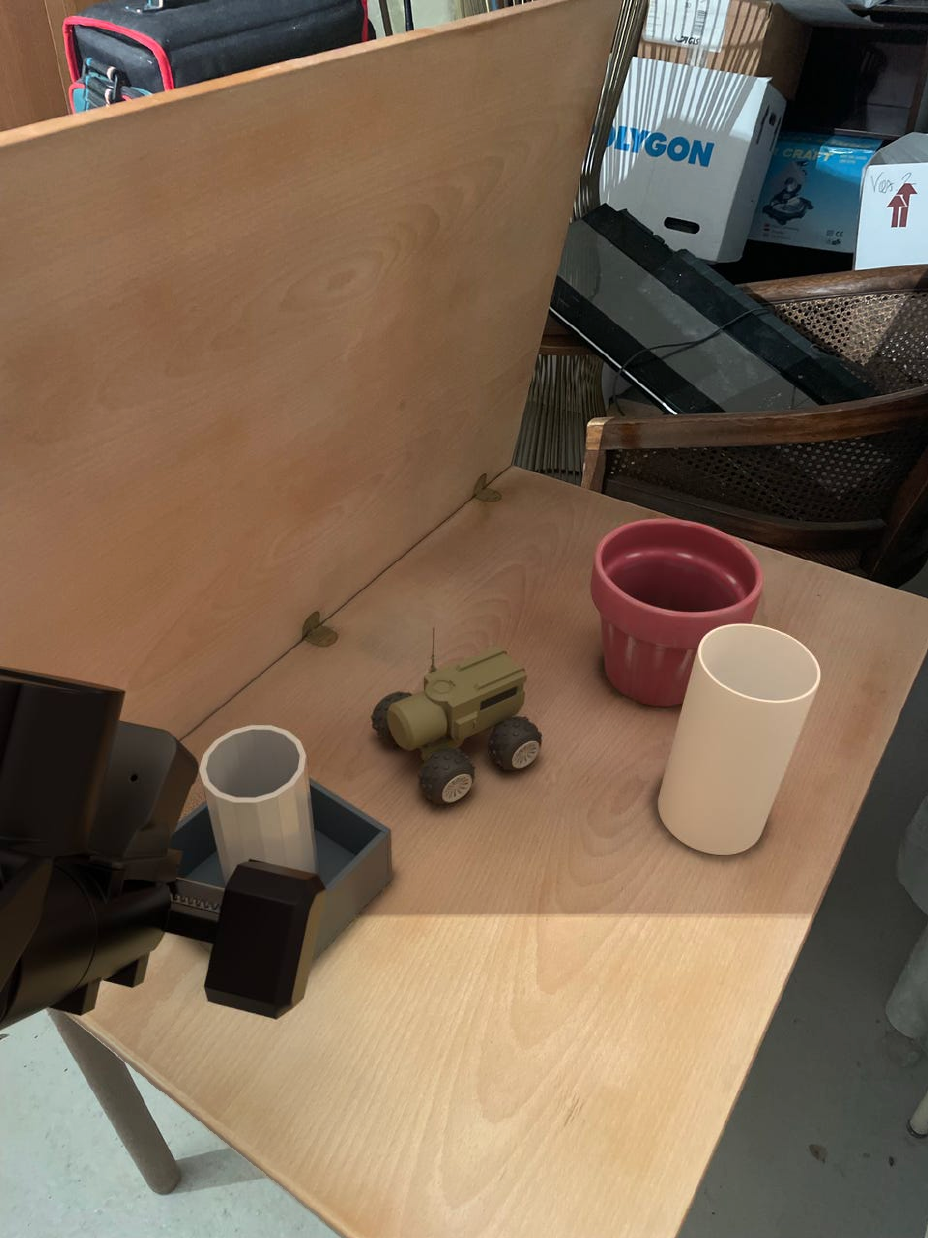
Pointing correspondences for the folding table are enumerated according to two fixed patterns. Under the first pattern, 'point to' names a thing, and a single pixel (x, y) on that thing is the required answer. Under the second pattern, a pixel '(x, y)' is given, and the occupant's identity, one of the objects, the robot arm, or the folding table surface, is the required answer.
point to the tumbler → (259, 799)
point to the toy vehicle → (461, 720)
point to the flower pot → (667, 601)
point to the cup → (735, 736)
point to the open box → (345, 854)
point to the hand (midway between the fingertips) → (198, 876)
